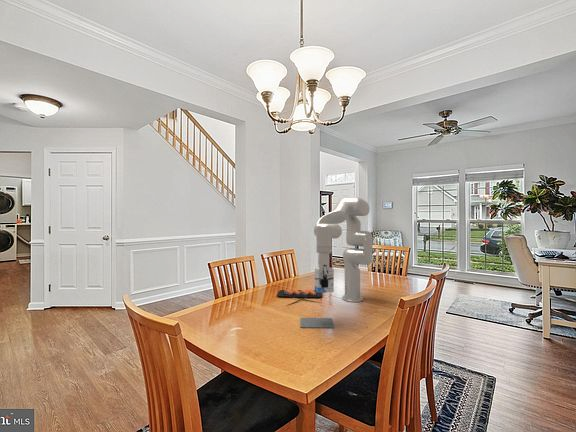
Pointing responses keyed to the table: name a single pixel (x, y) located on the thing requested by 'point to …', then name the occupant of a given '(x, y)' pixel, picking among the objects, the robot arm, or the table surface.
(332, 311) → the table surface
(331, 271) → the ink box
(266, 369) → the table surface
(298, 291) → the sushi plate
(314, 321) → the mat
